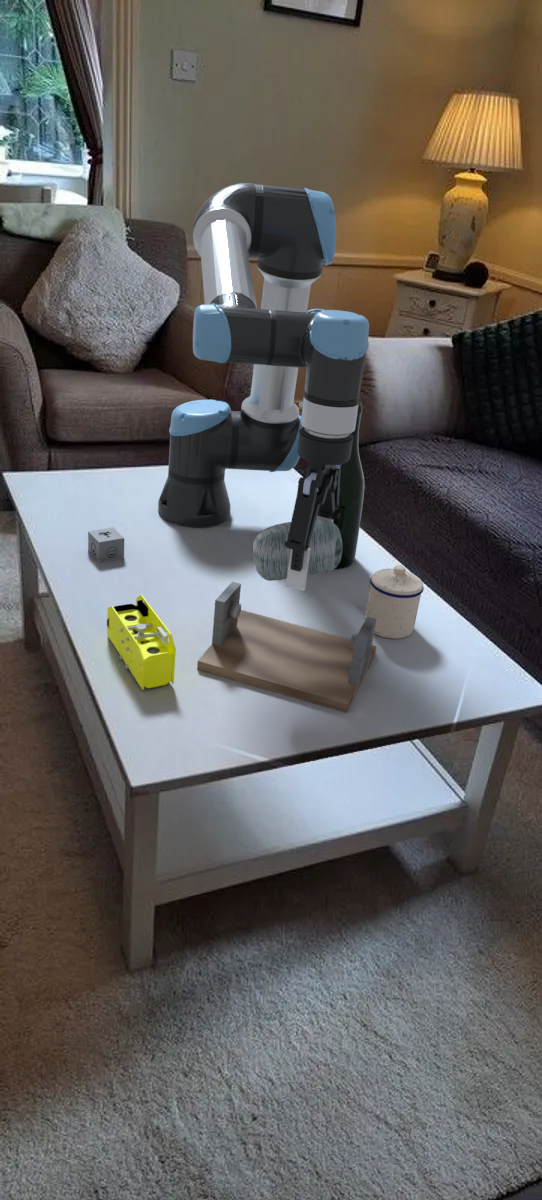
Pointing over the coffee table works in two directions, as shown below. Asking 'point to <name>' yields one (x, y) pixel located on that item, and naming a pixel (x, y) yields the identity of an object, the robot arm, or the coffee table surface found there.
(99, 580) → the coffee table surface
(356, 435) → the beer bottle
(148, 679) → the yellow toy chassis
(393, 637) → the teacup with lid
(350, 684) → the roll holder
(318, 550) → the grey egg-shaped piece
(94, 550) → the dice cube
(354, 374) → the robot arm
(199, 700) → the coffee table surface
